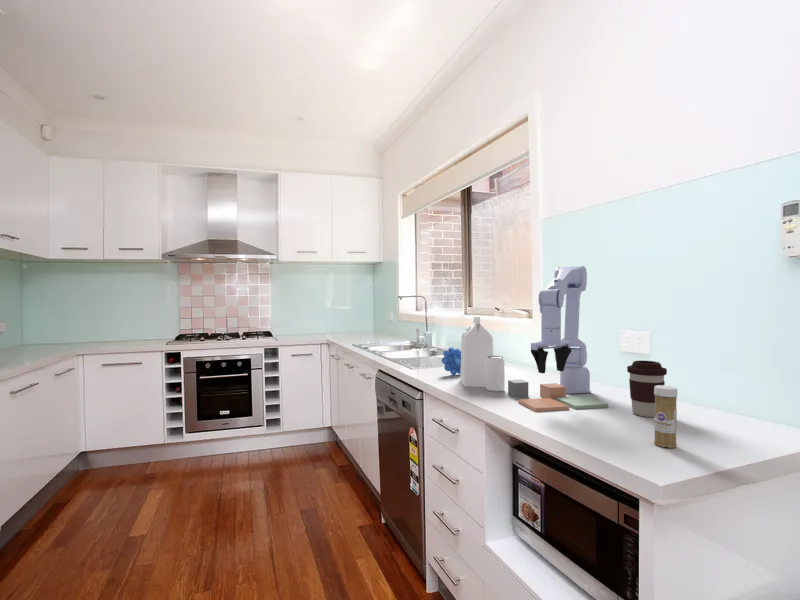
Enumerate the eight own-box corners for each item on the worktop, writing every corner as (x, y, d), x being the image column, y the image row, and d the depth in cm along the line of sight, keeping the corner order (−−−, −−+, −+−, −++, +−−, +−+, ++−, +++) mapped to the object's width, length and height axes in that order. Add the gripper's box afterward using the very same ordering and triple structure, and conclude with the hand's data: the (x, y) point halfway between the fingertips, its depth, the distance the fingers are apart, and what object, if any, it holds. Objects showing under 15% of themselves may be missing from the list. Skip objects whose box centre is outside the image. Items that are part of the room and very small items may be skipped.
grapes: (446, 377, 187) (446, 348, 187) (439, 375, 194) (439, 347, 193) (471, 375, 192) (471, 347, 192) (462, 373, 198) (462, 345, 198)
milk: (495, 386, 170) (494, 317, 169) (464, 386, 170) (463, 317, 169) (489, 380, 182) (488, 315, 181) (460, 380, 182) (460, 315, 181)
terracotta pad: (550, 401, 146) (550, 397, 146) (569, 409, 135) (569, 406, 135) (518, 402, 144) (518, 399, 144) (535, 411, 133) (535, 408, 133)
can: (504, 392, 160) (504, 358, 159) (486, 391, 161) (485, 357, 161) (504, 388, 166) (504, 355, 166) (486, 387, 167) (486, 355, 167)
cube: (521, 393, 157) (521, 379, 157) (528, 397, 152) (528, 382, 152) (508, 394, 156) (508, 380, 156) (514, 397, 151) (514, 383, 151)
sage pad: (586, 398, 149) (586, 395, 149) (608, 407, 138) (608, 403, 138) (555, 400, 147) (555, 397, 147) (575, 409, 136) (575, 405, 136)
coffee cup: (670, 414, 130) (670, 361, 130) (661, 421, 123) (661, 365, 122) (633, 408, 137) (633, 358, 136) (622, 414, 129) (622, 362, 129)
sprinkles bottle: (652, 446, 103) (652, 387, 103) (656, 440, 106) (656, 383, 106) (675, 450, 100) (675, 389, 100) (678, 445, 104) (679, 386, 103)
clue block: (556, 394, 155) (556, 383, 155) (565, 398, 149) (565, 386, 149) (540, 395, 154) (539, 384, 154) (549, 399, 148) (549, 387, 148)
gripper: (558, 326, 147) (558, 368, 147) (523, 328, 140) (523, 371, 141) (576, 327, 140) (576, 371, 141) (540, 329, 134) (540, 375, 134)
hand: (551, 371), depth 140 cm, fingers open, 7 cm apart
